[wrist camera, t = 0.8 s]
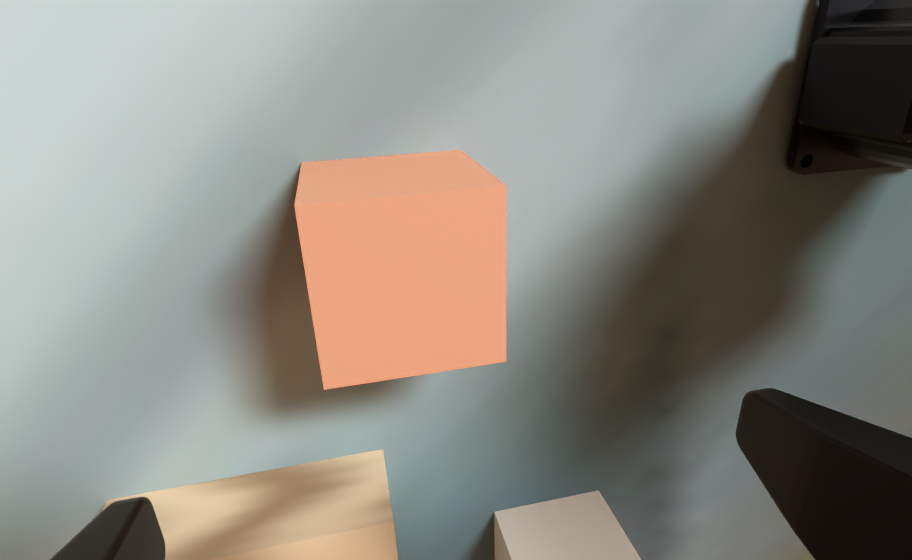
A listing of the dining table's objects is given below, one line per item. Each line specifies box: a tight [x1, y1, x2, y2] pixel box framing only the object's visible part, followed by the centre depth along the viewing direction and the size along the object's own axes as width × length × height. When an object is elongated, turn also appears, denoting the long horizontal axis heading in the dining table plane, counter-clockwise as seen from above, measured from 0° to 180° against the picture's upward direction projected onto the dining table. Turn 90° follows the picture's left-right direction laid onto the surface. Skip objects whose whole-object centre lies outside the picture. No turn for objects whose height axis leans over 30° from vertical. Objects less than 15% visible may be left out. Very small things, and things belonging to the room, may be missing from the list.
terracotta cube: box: [294, 150, 507, 390], centre depth 16 cm, size 5×5×5 cm
